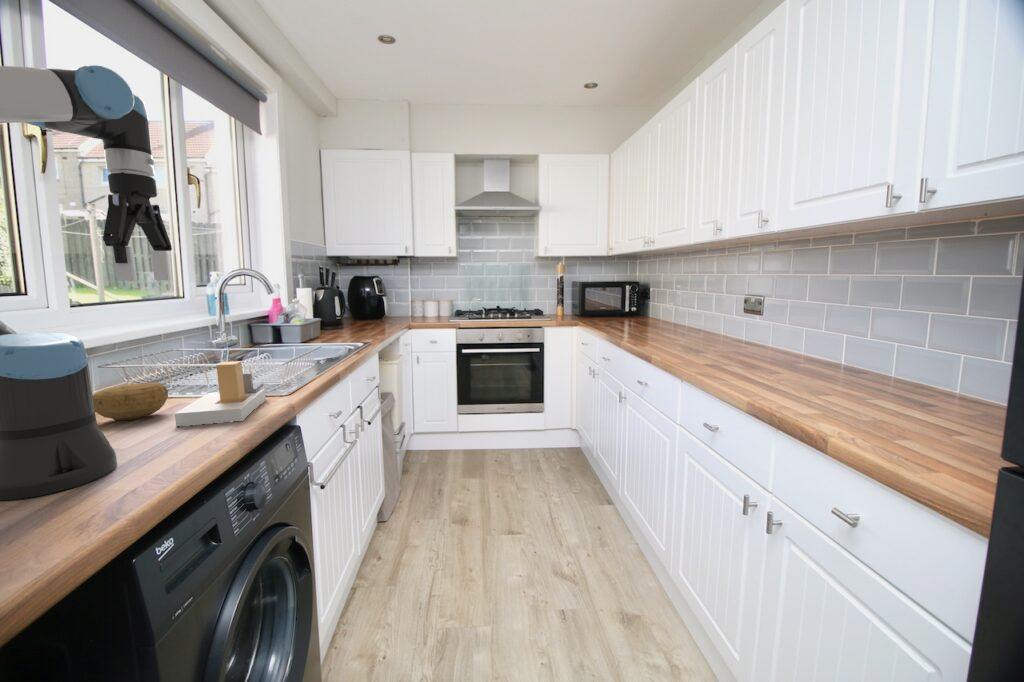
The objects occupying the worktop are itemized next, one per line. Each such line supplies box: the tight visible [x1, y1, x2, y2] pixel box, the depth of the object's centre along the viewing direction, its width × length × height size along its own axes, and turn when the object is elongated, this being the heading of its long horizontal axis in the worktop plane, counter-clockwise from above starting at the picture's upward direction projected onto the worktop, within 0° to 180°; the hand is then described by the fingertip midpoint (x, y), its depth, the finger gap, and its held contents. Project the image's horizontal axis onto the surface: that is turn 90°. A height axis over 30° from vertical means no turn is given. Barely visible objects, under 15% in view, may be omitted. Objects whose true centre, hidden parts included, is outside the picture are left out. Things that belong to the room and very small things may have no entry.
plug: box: [215, 360, 245, 403], centre depth 108 cm, size 4×4×12 cm
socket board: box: [174, 388, 266, 427], centre depth 108 cm, size 18×13×3 cm
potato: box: [93, 381, 169, 421], centre depth 104 cm, size 10×14×8 cm
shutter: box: [243, 372, 264, 393], centre depth 116 cm, size 7×7×5 cm
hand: (145, 280), depth 94 cm, fingers open, 13 cm apart
